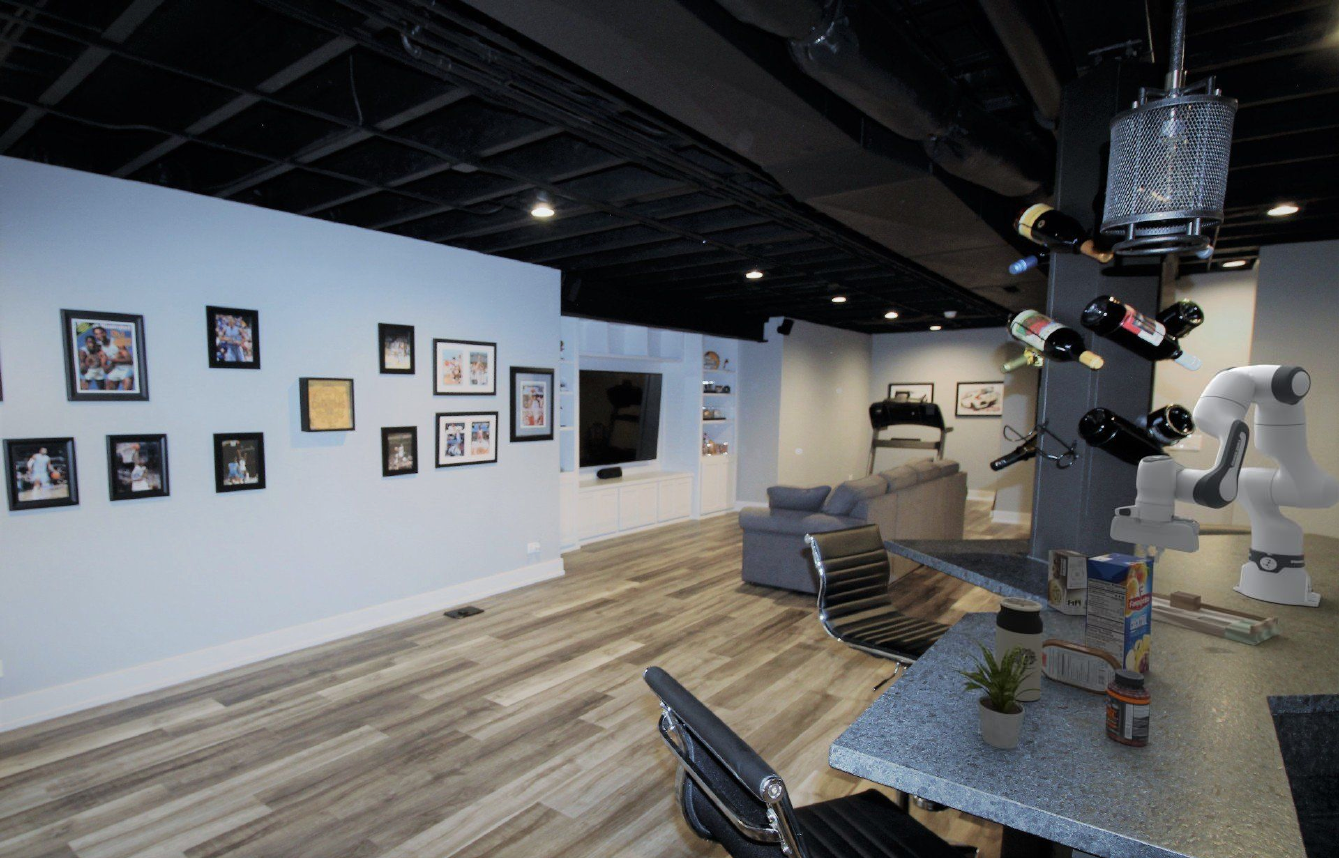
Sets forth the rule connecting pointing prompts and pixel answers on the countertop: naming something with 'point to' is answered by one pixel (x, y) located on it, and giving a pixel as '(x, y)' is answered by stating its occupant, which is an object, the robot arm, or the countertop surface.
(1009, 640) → the travel mug
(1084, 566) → the coffee box
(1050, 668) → the tin
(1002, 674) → the house plant
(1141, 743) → the supplement bottle
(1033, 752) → the countertop surface
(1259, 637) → the box
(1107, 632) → the juice carton
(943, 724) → the countertop surface
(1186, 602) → the walnut block
